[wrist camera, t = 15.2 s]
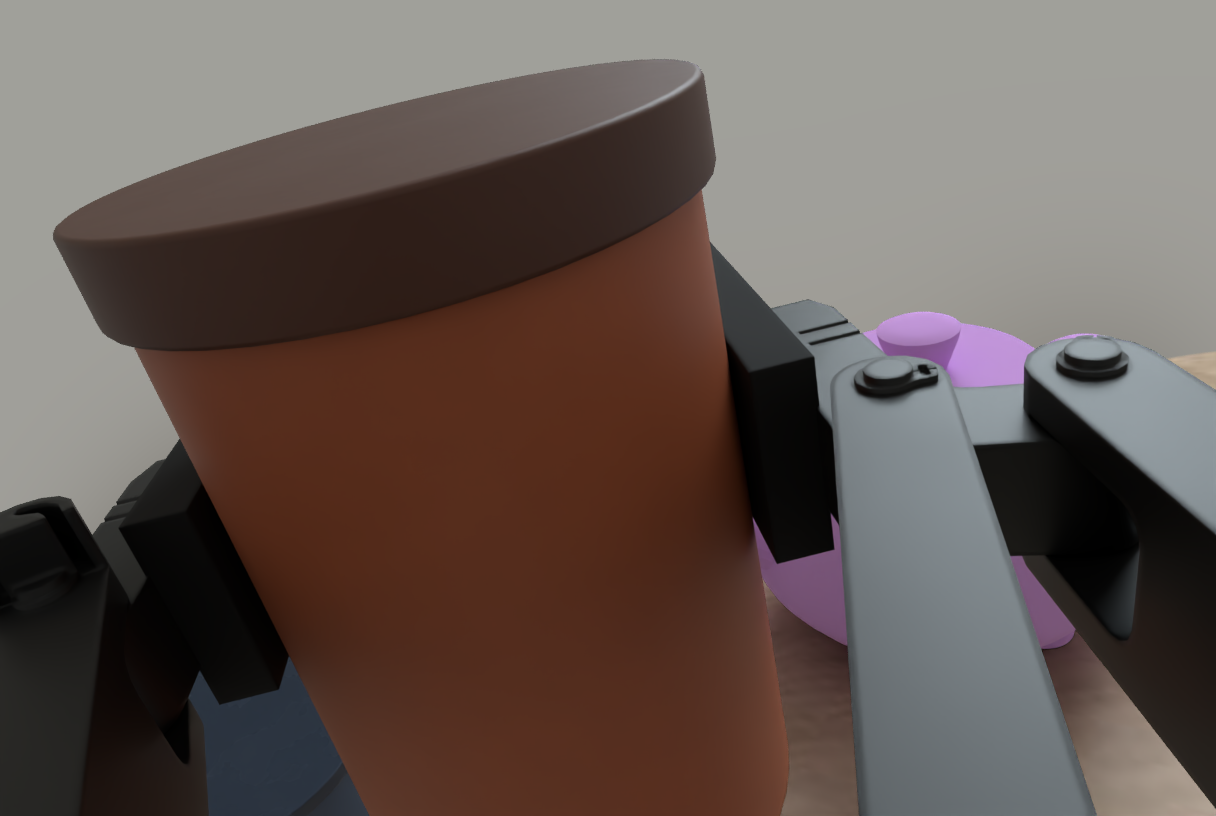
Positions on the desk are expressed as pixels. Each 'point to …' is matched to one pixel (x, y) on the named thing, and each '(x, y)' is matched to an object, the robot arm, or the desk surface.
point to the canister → (474, 437)
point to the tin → (272, 755)
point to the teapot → (970, 363)
